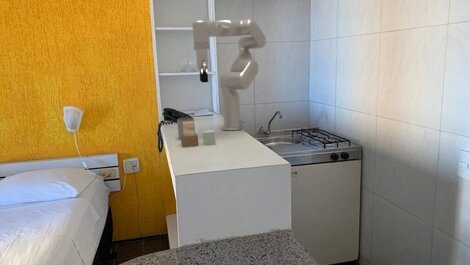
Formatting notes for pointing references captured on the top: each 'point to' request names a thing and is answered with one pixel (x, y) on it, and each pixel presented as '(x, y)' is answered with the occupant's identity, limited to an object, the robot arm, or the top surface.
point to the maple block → (188, 128)
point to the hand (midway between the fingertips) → (204, 81)
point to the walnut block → (189, 140)
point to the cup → (180, 125)
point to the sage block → (209, 137)
